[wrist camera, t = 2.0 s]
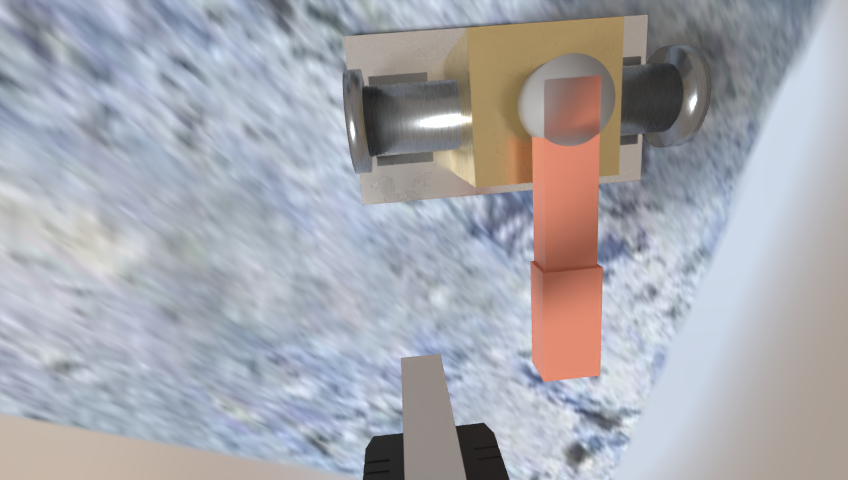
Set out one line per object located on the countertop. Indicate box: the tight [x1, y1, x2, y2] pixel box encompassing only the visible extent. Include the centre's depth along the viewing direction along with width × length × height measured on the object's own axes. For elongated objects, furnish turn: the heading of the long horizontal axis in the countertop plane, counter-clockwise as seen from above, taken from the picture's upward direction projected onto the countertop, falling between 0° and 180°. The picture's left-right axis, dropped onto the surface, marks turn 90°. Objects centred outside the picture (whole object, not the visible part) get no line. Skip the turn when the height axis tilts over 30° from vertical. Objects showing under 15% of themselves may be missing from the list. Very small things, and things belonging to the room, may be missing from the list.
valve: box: [343, 15, 711, 205], centre depth 27 cm, size 12×22×12 cm, turn 95°
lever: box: [518, 53, 616, 382], centre depth 22 cm, size 16×4×2 cm, turn 5°
